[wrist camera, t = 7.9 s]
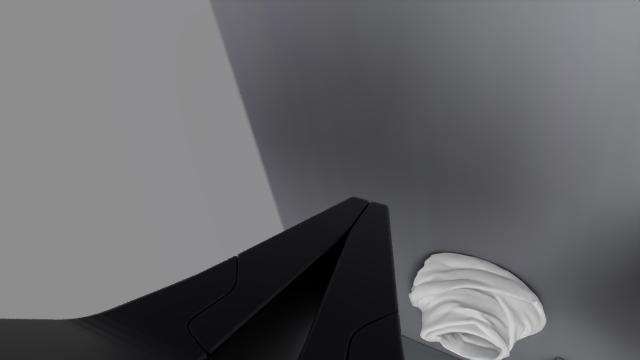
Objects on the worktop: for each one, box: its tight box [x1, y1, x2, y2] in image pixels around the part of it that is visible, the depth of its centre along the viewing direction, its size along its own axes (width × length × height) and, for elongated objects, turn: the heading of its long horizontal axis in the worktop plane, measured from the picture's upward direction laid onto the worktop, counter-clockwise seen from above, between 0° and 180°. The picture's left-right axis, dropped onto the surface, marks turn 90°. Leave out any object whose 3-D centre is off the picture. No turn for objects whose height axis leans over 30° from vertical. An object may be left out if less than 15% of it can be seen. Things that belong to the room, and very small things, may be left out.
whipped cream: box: [409, 253, 546, 360], centre depth 24 cm, size 8×7×5 cm
